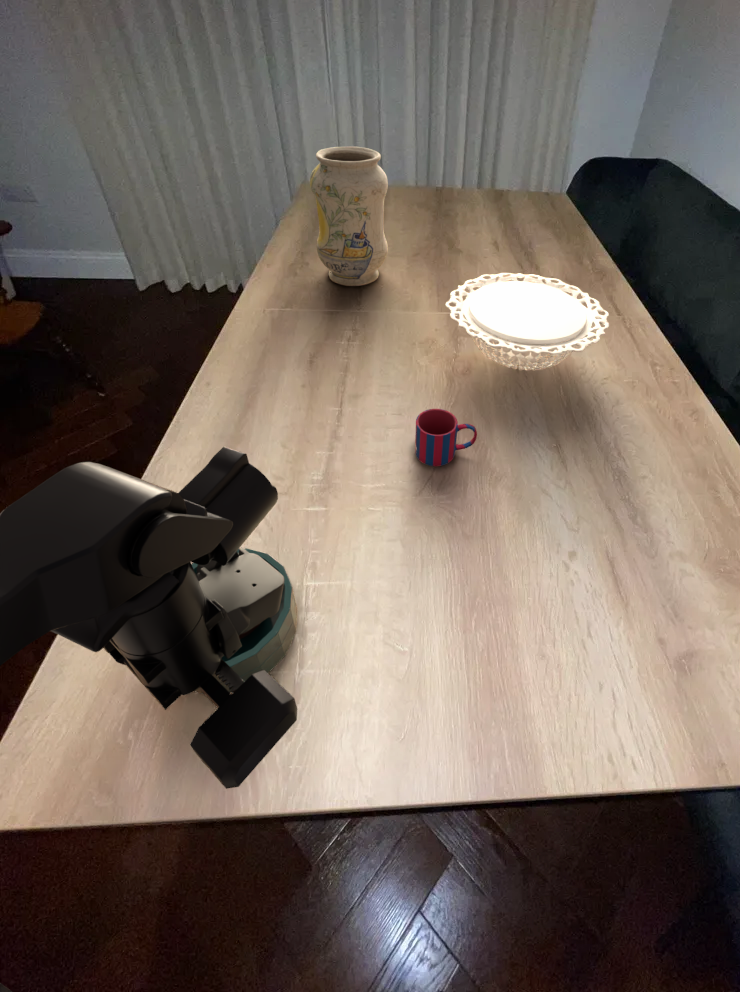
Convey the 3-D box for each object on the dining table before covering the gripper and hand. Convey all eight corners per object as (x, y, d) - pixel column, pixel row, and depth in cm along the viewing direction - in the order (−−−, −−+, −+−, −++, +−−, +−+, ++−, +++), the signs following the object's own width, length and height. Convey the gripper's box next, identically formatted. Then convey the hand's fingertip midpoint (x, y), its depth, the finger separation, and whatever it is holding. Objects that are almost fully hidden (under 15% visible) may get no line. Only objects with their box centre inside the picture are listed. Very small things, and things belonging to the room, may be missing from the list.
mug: (418, 436, 91) (419, 406, 87) (475, 442, 91) (479, 413, 87) (412, 464, 86) (412, 433, 82) (473, 471, 86) (477, 440, 81)
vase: (323, 259, 144) (312, 140, 126) (389, 261, 146) (388, 144, 127) (314, 290, 130) (300, 162, 112) (387, 292, 132) (386, 166, 113)
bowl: (219, 726, 55) (206, 702, 51) (140, 642, 61) (124, 615, 58) (322, 620, 65) (318, 593, 61) (245, 556, 71) (237, 528, 67)
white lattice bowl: (413, 348, 113) (414, 295, 105) (518, 309, 129) (526, 260, 121) (518, 432, 94) (529, 375, 86) (626, 373, 110) (643, 320, 102)
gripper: (343, 604, 37) (354, 697, 47) (185, 479, 45) (223, 581, 55) (203, 749, 30) (250, 825, 40) (44, 570, 38) (116, 669, 48)
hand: (210, 707), depth 46 cm, fingers open, 9 cm apart
